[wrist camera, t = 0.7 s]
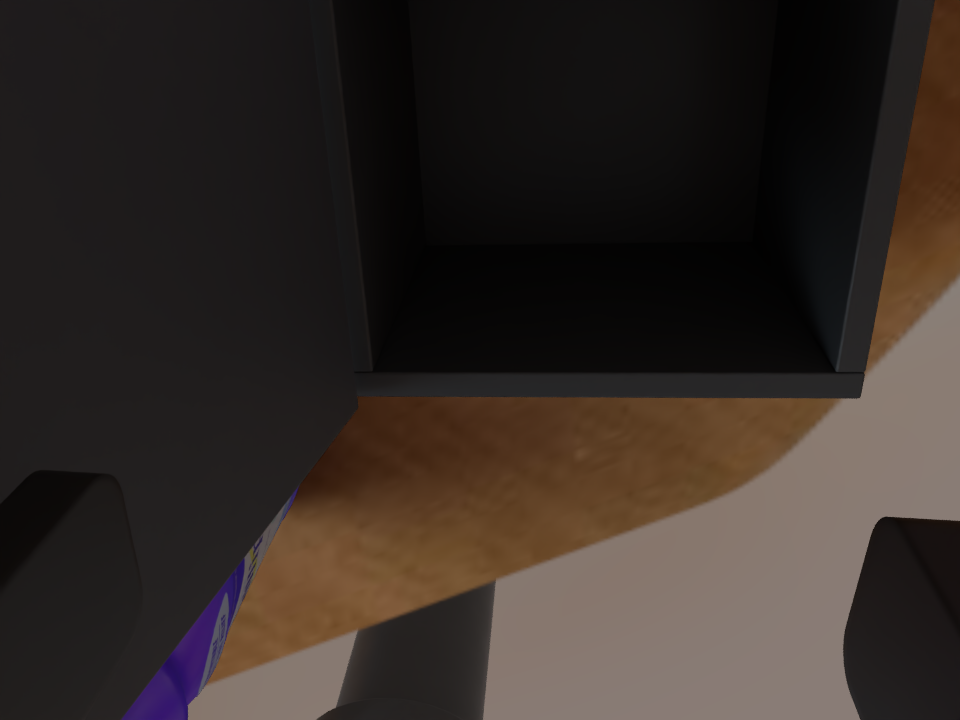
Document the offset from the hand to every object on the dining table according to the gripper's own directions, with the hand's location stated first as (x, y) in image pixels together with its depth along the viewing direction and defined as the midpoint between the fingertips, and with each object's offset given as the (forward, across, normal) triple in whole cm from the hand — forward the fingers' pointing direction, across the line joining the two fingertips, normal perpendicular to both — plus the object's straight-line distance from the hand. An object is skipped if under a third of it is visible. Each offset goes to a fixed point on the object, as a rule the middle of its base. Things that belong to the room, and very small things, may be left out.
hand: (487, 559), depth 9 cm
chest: (+21, +2, +2) cm, 21 cm away
